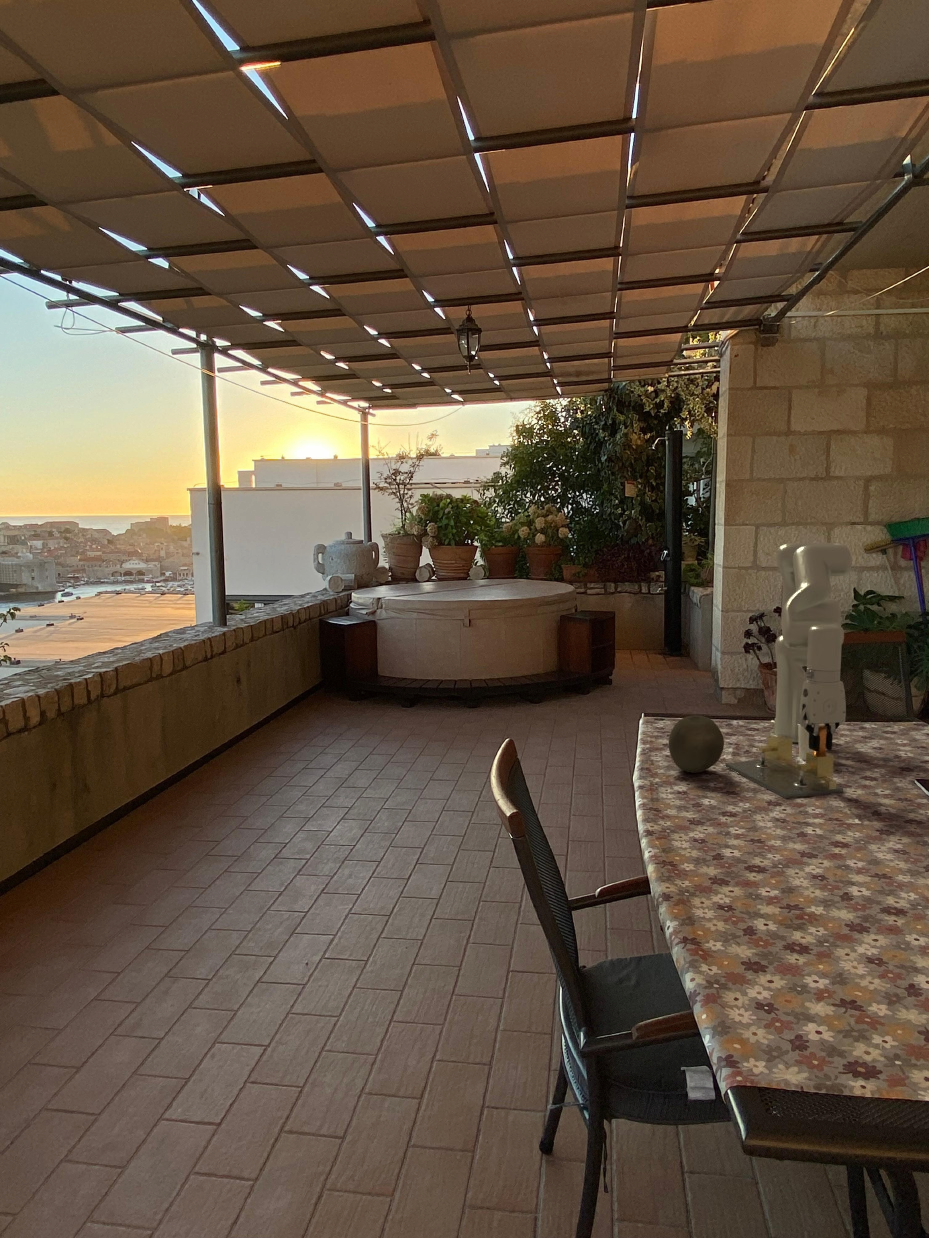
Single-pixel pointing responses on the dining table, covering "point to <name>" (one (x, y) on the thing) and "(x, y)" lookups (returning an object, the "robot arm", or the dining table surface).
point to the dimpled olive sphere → (695, 743)
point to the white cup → (804, 742)
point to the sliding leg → (818, 759)
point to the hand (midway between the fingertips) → (820, 748)
